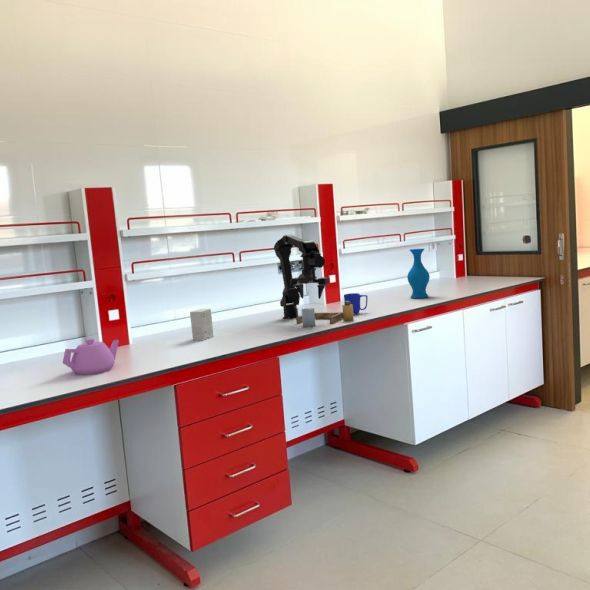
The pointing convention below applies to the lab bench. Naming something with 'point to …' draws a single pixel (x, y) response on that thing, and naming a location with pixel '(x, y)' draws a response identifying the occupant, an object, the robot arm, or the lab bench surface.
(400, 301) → the lab bench surface
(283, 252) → the robot arm
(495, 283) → the lab bench surface
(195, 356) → the lab bench surface
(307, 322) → the pale blue canister
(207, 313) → the small box
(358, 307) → the mug
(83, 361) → the teapot
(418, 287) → the vase
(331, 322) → the cradle
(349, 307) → the reagent bottle
